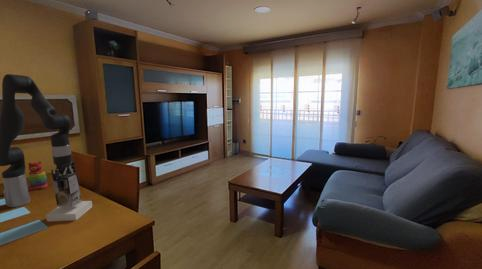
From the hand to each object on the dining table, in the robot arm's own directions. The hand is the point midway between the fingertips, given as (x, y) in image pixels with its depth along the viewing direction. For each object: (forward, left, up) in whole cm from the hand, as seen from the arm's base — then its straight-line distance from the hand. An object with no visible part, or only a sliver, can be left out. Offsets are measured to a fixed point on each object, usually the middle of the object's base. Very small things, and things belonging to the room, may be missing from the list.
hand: (66, 184), depth 117 cm
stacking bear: (-46, +38, -16) cm, 62 cm away
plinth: (0, 0, -17) cm, 17 cm away
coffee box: (0, 0, -11) cm, 11 cm away
